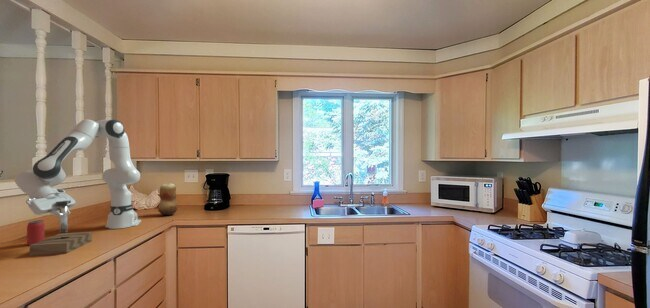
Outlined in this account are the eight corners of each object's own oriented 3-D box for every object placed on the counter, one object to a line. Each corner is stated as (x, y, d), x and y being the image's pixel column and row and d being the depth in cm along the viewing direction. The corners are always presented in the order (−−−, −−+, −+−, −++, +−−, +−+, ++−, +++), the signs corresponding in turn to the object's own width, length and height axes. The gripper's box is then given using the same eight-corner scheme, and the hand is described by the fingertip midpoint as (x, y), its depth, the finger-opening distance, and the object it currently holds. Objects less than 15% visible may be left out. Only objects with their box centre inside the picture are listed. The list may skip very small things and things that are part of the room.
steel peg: (61, 231, 145) (60, 200, 145) (73, 230, 147) (73, 200, 146) (53, 234, 140) (52, 202, 140) (66, 233, 141) (66, 202, 141)
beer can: (43, 241, 154) (43, 219, 154) (45, 243, 150) (45, 221, 150) (26, 244, 149) (26, 221, 149) (27, 246, 145) (27, 223, 145)
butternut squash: (155, 217, 212) (155, 184, 212) (161, 213, 225) (161, 183, 225) (175, 216, 215) (175, 184, 215) (180, 212, 228) (180, 182, 228)
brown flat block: (59, 242, 151) (59, 233, 151) (91, 240, 154) (91, 231, 154) (29, 255, 131) (29, 245, 132) (66, 253, 135) (66, 243, 135)
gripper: (28, 195, 132) (50, 215, 133) (66, 189, 153) (85, 206, 153) (18, 204, 132) (40, 224, 133) (58, 197, 153) (77, 215, 153)
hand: (64, 215), depth 143 cm, fingers closed on steel peg, 3 cm apart
